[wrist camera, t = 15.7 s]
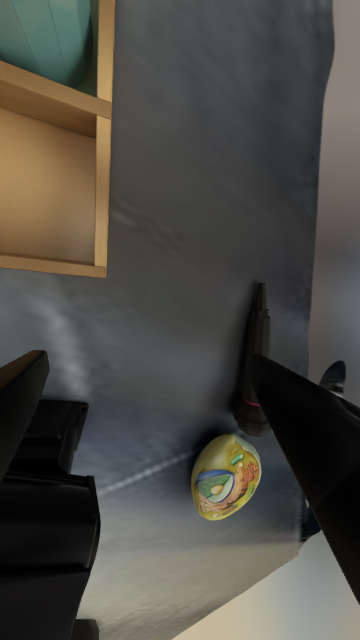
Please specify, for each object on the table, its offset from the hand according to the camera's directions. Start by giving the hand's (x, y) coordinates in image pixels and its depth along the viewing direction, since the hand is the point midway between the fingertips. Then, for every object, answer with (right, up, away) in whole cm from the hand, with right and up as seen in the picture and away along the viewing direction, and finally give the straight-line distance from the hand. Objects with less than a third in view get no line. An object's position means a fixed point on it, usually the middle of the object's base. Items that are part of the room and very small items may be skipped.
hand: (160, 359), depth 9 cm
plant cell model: (+8, -21, +20) cm, 30 cm away
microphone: (+11, -3, +18) cm, 21 cm away
